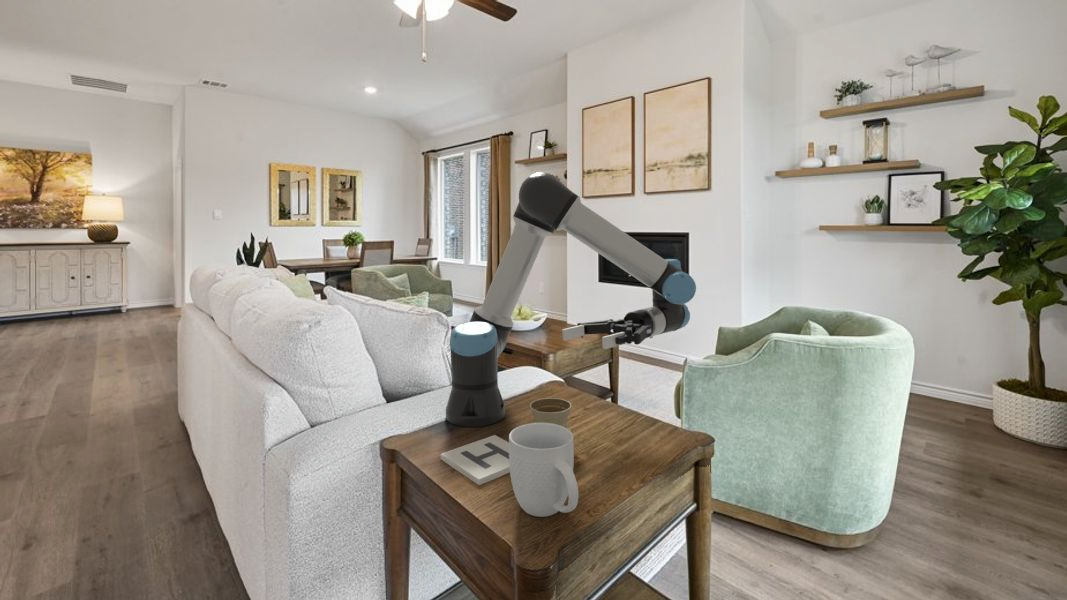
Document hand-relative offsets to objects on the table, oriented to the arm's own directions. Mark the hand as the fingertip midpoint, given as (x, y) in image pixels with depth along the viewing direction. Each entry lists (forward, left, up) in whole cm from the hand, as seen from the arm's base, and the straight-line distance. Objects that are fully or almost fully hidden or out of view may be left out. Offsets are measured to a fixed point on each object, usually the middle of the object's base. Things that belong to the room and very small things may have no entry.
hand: (582, 338), depth 113 cm
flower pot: (0, -10, -22) cm, 24 cm away
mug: (+19, -29, -22) cm, 41 cm away
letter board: (-2, -26, -22) cm, 34 cm away
